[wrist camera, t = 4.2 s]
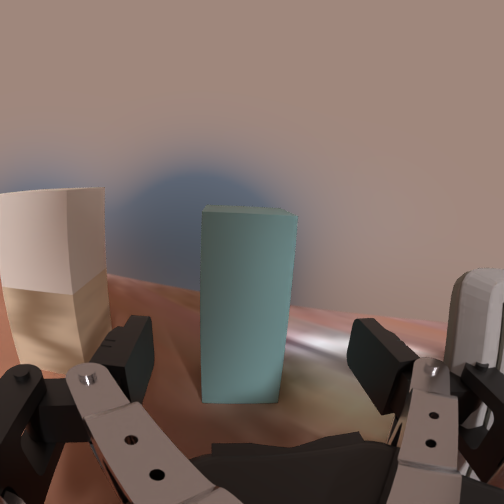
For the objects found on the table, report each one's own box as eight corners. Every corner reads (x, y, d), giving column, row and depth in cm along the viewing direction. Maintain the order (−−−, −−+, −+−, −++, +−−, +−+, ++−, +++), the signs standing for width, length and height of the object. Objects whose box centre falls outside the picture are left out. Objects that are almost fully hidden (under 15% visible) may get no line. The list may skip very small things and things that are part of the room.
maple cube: (113, 338, 23) (106, 267, 21) (88, 378, 17) (72, 294, 15) (53, 330, 22) (43, 263, 21) (20, 364, 16) (2, 286, 15)
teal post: (267, 363, 21) (280, 208, 19) (277, 402, 17) (298, 216, 14) (204, 363, 21) (206, 204, 18) (202, 402, 16) (201, 211, 14)
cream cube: (106, 267, 21) (104, 187, 20) (72, 294, 15) (66, 190, 14) (43, 263, 21) (40, 189, 19) (2, 286, 15) (-6, 194, 14)
